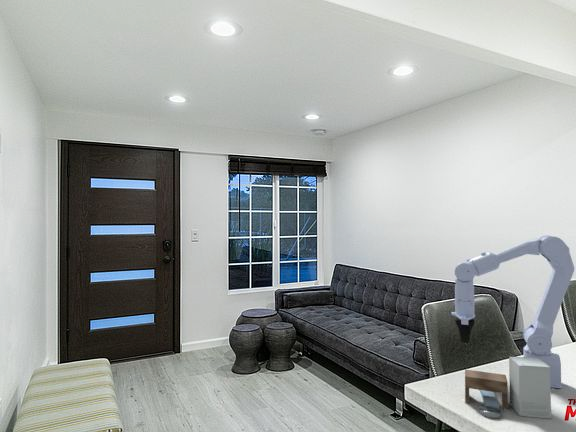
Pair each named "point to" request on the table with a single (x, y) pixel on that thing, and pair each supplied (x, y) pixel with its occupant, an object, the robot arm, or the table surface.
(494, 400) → the pale blue mallet
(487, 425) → the table surface
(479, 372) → the brown wooden arch
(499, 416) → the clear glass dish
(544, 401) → the supplement box
